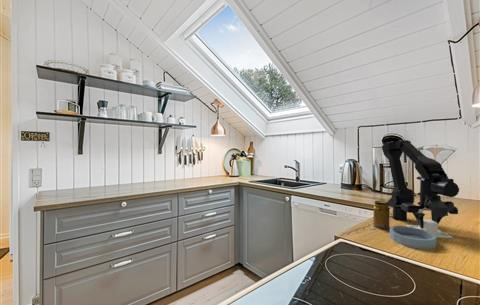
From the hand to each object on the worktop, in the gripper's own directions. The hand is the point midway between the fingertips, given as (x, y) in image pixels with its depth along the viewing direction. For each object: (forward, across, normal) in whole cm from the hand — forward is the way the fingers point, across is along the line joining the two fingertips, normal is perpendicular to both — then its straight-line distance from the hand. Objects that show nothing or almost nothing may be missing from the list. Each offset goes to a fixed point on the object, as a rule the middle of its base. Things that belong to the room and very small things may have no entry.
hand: (427, 228), depth 95 cm
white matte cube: (+1, 0, 0) cm, 1 cm away
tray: (+2, 0, 0) cm, 2 cm away
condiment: (+2, -16, +3) cm, 16 cm away
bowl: (+2, -12, -10) cm, 16 cm away
